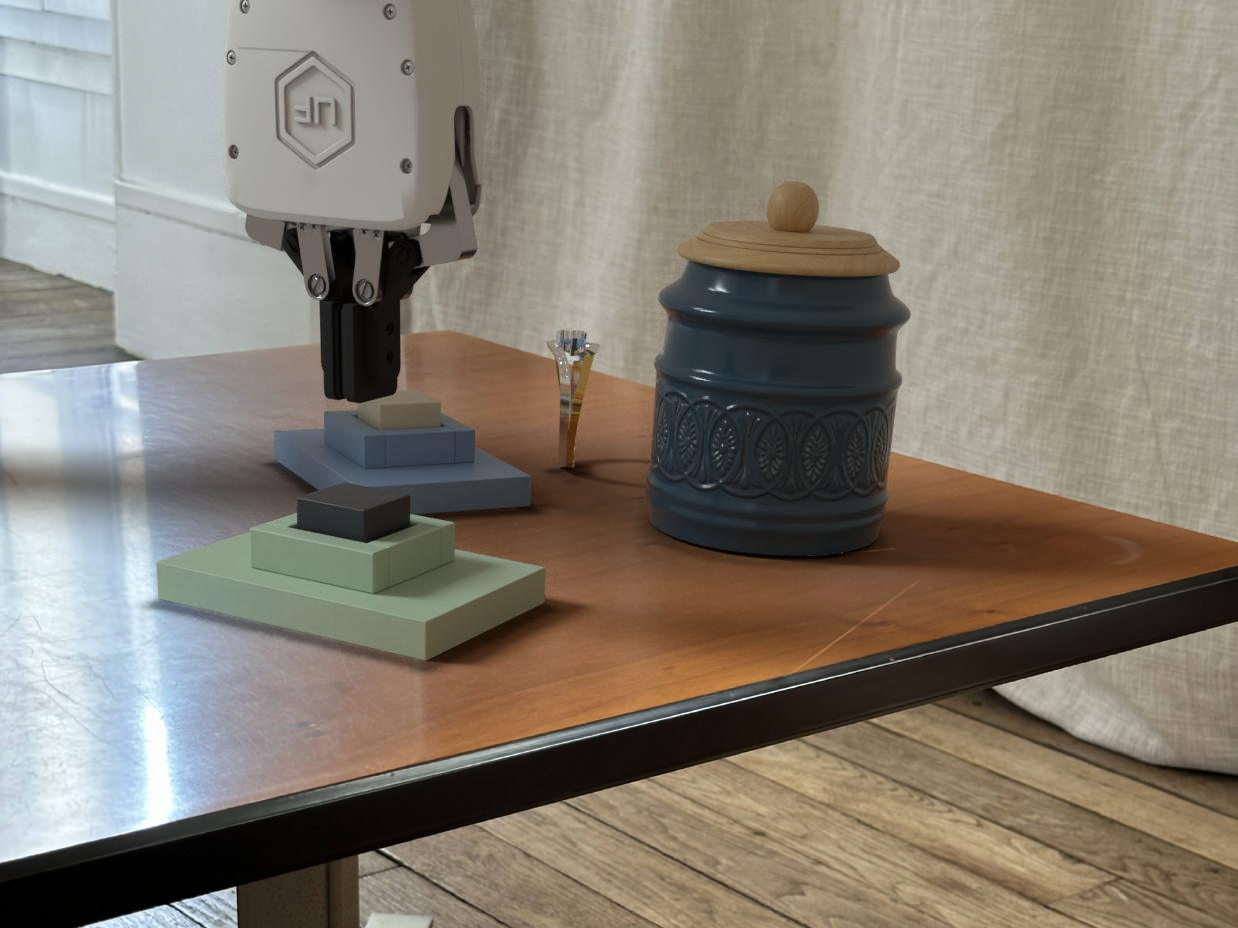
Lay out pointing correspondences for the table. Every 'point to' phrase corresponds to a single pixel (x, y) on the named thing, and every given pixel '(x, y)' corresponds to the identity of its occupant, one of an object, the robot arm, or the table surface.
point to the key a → (353, 512)
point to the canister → (776, 386)
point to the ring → (571, 386)
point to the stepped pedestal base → (356, 585)
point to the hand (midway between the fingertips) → (361, 395)
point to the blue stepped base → (405, 463)
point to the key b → (401, 411)
